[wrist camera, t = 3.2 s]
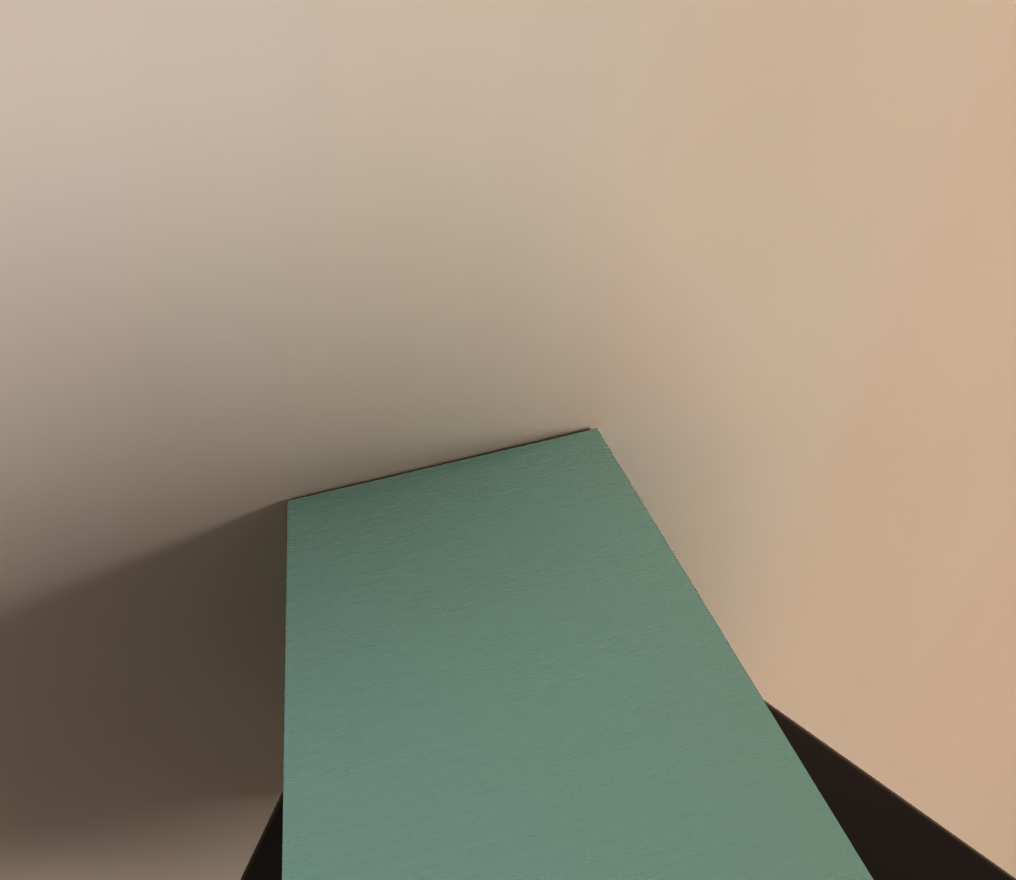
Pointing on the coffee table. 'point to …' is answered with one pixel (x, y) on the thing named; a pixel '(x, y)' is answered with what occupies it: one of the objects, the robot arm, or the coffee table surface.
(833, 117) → the coffee table surface
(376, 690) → the teal block
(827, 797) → the robot arm
